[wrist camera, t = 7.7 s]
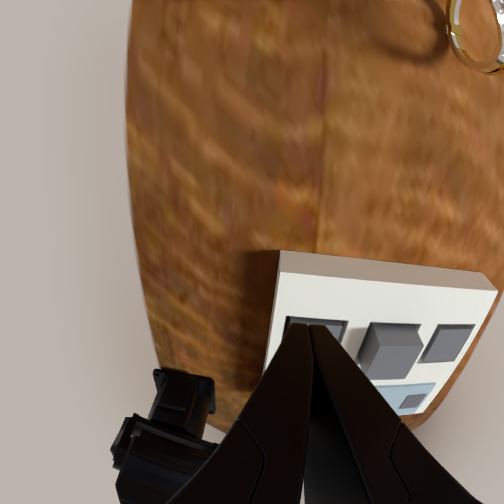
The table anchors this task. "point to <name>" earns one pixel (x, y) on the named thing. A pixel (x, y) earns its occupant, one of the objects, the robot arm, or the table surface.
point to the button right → (446, 342)
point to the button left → (332, 325)
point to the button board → (381, 310)
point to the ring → (496, 64)
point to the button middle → (389, 350)
